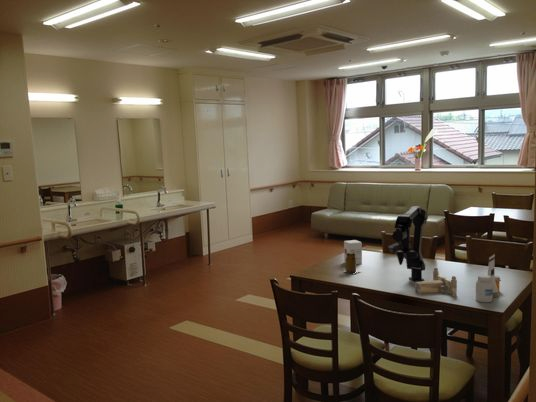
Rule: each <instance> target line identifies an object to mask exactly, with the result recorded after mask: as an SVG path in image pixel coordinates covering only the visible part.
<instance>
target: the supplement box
mask: <svg viewBox="0 0 536 402" xmlns="http://www.w3.org/2000/svg"><path fill="white" fill-rule="evenodd" d="M362 244H363V243H362V242H361V241H359V240H357V239H352V240H344V241H343V246H344V247H343V252H344V253H343V254H344V255H343V256H344V257H343V258H344V259H343V263H344V262H345V263H344V264H346V257H347V253H349V252H352V253H355V258H356V264H359V265H362V263H363V250H362V249H363V245H362Z"/></svg>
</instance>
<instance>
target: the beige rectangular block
mask: <svg viewBox="0 0 536 402" xmlns="http://www.w3.org/2000/svg"><path fill="white" fill-rule="evenodd" d="M414 282H415V283H414V284H415V285H414V287H415V293H418V294H429V293H430V294H431V293H440V286H444V282H443V281H441V280H435V281H433V280H427V281H426V280H422V281H414Z"/></svg>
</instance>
